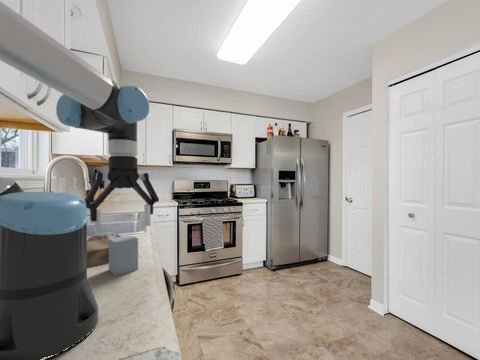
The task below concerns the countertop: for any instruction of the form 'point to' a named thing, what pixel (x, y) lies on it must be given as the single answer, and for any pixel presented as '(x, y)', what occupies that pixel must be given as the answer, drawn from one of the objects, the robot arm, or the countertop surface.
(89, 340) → the countertop surface
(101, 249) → the walnut block
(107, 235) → the packaged food
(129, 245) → the slate block
